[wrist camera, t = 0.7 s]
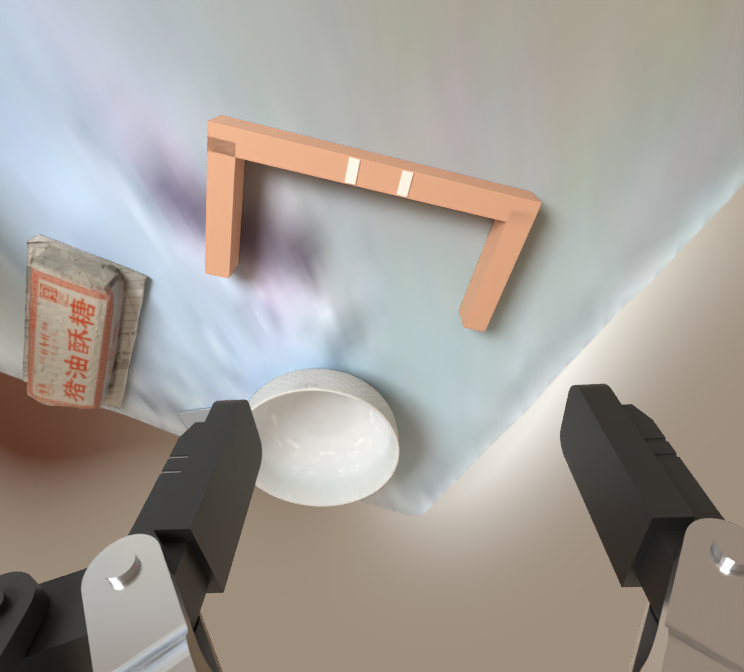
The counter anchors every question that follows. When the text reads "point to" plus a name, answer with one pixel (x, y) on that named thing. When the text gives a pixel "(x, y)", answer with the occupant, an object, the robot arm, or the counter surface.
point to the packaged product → (78, 325)
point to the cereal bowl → (323, 438)
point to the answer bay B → (369, 171)
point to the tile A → (194, 416)
